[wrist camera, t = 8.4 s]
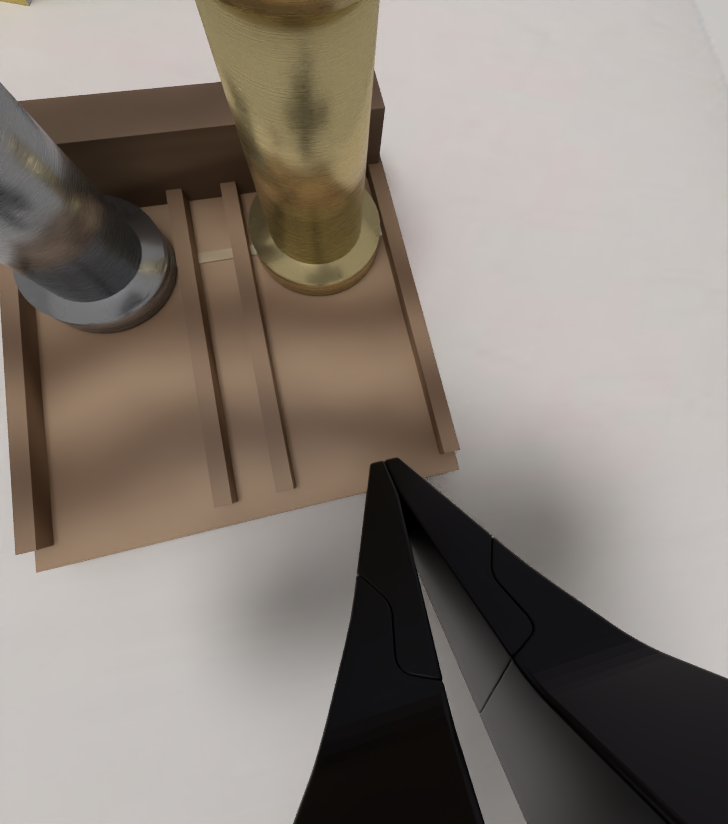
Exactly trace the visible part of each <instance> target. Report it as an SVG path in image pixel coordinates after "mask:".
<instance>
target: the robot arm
mask: <svg viewBox="0 0 728 824" xmlns="http://www.w3.org/2000/svg"><path fill="white" fill-rule="evenodd" d="M416 568H417V569H416ZM417 571H418V573H419V575H420V577H421V580H422V582H423V584H424V587H425V589H426V591H427V594H428V596H429V598H430V601H431V603H432V605H433V607H434V610H435V612H436V614H437V617H438V619H439V621H440V624H441V626H442V628H443V631H444V633H445V635H446V638H447V640H448V642H449V644H450V647H451V649H452V651H453V654H454V656H455V658H456V661H457V663H458V665H459V668H460V670H461V672H462V675H463V677H464V679H465V681H466V684H467V686H468V688H469V691H470V693H471V695H472V698H473V700H474V702H475V705H476V707H477V709H478V711H479V713H480V716H481V719H482V721H483V723H484V726H485V728H486V730H487V733H488V735H489V737H490V739H491V742H492V744H493V746H494V749H495V751H496V753H497V756H498V758H499V760H500V763H501V765H502V767H503V769H504V772H505V774H506V776H507V779H508V781H509V783H510V786H511V788H512V790H513V793H514V795H515V797H516V799H517V802H518V804H519V806H520V809H521V811H522V813H523V816H524V818H525V820H526V823H527V824H728V679H727V678H725V677H722V676H720V675H717V674H715V673H712V672H710V671H707V670H705V669H702V668H700V667H697V666H695V665H692V664H690V663H687V662H685V661H682V660H680V659H677V658H675V657H672V656H670V655H668V654H665V653H663V652H661V651H658V650H656V649H654V648H652V647H650V646H648V645H646V644H644V643H643V642H641V641H639V640H637V639H635V638H634V637H632V636H630V635H628V634H627V633H625V632H624V631H622V630H621V629H619V628H618V627H616V626H615V625H613V624H612V623H610V622H609V621H607V620H606V619H604V618H603V617H601V616H600V615H599V614H597V613H596V612H594V611H593V610H591V609H590V608H589V607H587V606H586V605H584V604H583V603H581V602H580V601H578V600H577V599H576V598H574V597H573V596H571V595H570V594H568V593H567V592H565V591H564V590H563V589H561V588H560V587H558V586H557V585H555V584H554V583H553V582H551V581H550V580H548V579H547V578H546V577H544V576H543V575H541V574H540V573H539V572H537V571H536V570H534V569H533V568H532V567H530V566H529V565H528V564H526V563H525V562H524V561H523V560H521V559H520V558H519V557H518V556H516V555H515V554H514V553H512V552H511V551H510V550H509V549H507V548H506V547H505V546H504V545H503V544H502V543H500V542H499V541H498V540H497V539H496V538H492V535H491V534H489V533H488V532H487V531H486V530H485V529H483V528H482V527H481V526H480V525H479V524H477V523H476V522H475V521H474V520H473V519H471V518H470V517H469V516H468V515H467V514H465V513H464V512H463V511H462V510H461V509H459V508H458V507H457V506H456V505H455V504H454V503H452V502H451V501H450V500H449V499H448V498H446V497H445V496H444V495H443V494H442V493H440V492H439V491H438V490H437V489H436V488H434V487H433V486H432V485H431V484H430V483H428V482H427V481H426V480H425V479H424V478H422V477H421V476H420V475H419V474H418V473H416V472H415V471H414V470H413V469H412V468H410V467H409V466H408V465H407V464H406V463H404V462H403V461H402V460H401V459H400V458H398V457H395V458H391V459H386V460H385V461H378V462H374V463H371V464H370V469H369V477H368V486H367V494H366V502H365V511H364V519H363V527H362V536H361V544H360V552H359V561H358V569H357V575H358V576H357V577H356V584H355V592H354V599H353V606H352V612H351V618H350V623H349V628H348V632H347V637H346V642H345V647H344V651H343V655H342V659H341V663H340V667H339V671H338V676H337V680H336V684H335V688H334V692H333V696H332V701H331V705H330V709H329V713H328V717H327V721H326V725H325V729H324V732H323V736H322V740H321V743H320V747H319V750H318V754H317V757H316V760H315V764H314V767H313V770H312V773H311V776H310V779H309V782H308V784H307V787H306V790H305V792H304V795H303V798H302V801H301V803H300V806H299V809H298V812H297V814H296V817H295V820H294V823H293V824H485V823H484V820H483V817H482V813H481V810H480V807H479V804H478V800H477V797H476V794H475V791H474V788H473V784H472V781H471V778H470V775H469V771H468V768H467V765H466V762H465V758H464V755H463V752H462V749H461V746H460V742H459V739H458V736H457V732H456V729H455V726H454V722H453V718H452V715H451V711H450V707H449V703H448V699H447V695H446V691H445V687H444V684H443V682H442V674H441V670H440V666H439V662H438V658H437V653H436V649H435V645H434V641H433V636H432V632H431V628H430V624H429V620H428V615H427V611H426V607H425V603H424V599H423V594H422V590H421V586H420V582H419V577H418V573H417Z"/></svg>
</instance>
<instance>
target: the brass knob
mask: <svg viewBox="0 0 728 824" xmlns="http://www.w3.org/2000/svg"><path fill="white" fill-rule="evenodd" d="M195 1H196V4H197V8H198V11H199V14H200V17H201V20H202V23H203V26H204V29H205V33H206V36H207V39H208V42H209V45H210V48H211V51H212V54H213V57H214V61H215V64H216V67H217V70H218V73H219V76H220V79H221V82H222V86H223V89H224V92H225V95H226V98H227V101H228V104H229V107H230V110H231V114H232V117H233V120H234V123H235V126H236V129H237V132H238V135H239V139H240V142H241V145H242V148H243V151H244V154H245V157H246V160H247V163H248V167H249V170H250V173H251V176H252V179H253V182H254V185H255V188H256V192H257V194H256V196H255V198H254V200H253V202H252V204H251V207H250V211H249V216H248V228H249V234H250V238H251V241H252V243H253V246H254V248H255V250H256V253H257V255H258V258H259V260H260V262H261V264H262V266H263V267H264V269H265V270H266V271H267V273H268V274H269V275H270V276H271V277H272V278H273V279H274V280H275V281H277V282H278V283H280V284H281V285H282V286H284V287H286V288H288V289H290V290H293V291H295V292H298V293H302V294H306V295H321V296H322V295H330V294H334V293H338V292H341V291H344V290H346V289H348V288H350V287H352V286H353V285H355V284H356V283H357V282H359V281H360V280H361V279H362V278H363V277H364V276H365V275H366V274H367V272H368V271H369V269H370V268H371V266H372V264H373V262H374V260H375V257H376V253H377V248H378V242H379V235H380V218H379V213H378V210H377V207H376V205H375V203H374V201H373V199H372V197H371V196H370V194H369V193H368V192H367V191H366V189H365V188H364V187H365V174H366V162H367V149H368V137H369V124H370V112H371V100H372V87H373V75H374V62H375V50H376V37H377V25H378V12H379V0H195Z"/></svg>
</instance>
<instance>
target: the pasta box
mask: <svg viewBox="0 0 728 824" xmlns="http://www.w3.org/2000/svg"><path fill="white" fill-rule="evenodd" d="M0 1H4V2H10V3H15V4H21V5H27V6H29V5H30V2H31V0H0Z"/></svg>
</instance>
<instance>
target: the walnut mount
mask: <svg viewBox="0 0 728 824" xmlns="http://www.w3.org/2000/svg"><path fill="white" fill-rule="evenodd" d="M17 102H18V103H19V104H20V105H21V106H22V107H23V108H24V109H25V110H26V111H27V113H28V114H29V115H30V116H31V117H32V118H33V119H34V120H35V121H36V122H37V124H38V125H39V126H40V127H41V128H42V129H43V130H44V131H45V132H46V133H47V135H48V136H49V137H50V138H51V139H52V140H53V141H54V142H55V143H56V145H57V146H58V147H59V148H60V149H61V150H62V151H63V152H64V153H65V154H66V156H67V157H68V158H69V159H70V160H71V161H72V162H73V163H74V164H75V165H76V167H77V168H78V169H79V170H80V171H81V172H82V173H83V174H84V175H85V176H86V178H87V179H88V180H89V181H90V182H91V183H92V184H93V185H94V186H95V188H96V189H97V190H98V191H99V192H100V193H101V194H102V195H108V196H113V197H117V198H121V199H123V200H126V201H128V202H130V203H132V204H134V205H136V206H137V207H139V208H140V209H141V210H143V211H144V212H145V213H146V214H147V215H148V216H149V217H150V218H151V219H152V221H153V222H154V223H155V224H156V226H157V227H158V228H159V230H160V231H161V232H162V233H163V235H164V236H165V237H166V238H167V240H168V241H169V243H170V245H171V246H172V249H173V251H174V254H175V258H176V264H177V273H176V280H175V284H174V287H173V289H172V292H171V294H170V296H169V297H168V299H167V300H166V302H165V303H164V305H163V306H162V307H161V308H160V309H159V310H158V311H157V312H156V313H155V314H154V315H152V316H151V317H150V318H149V319H147V320H145V321H144V322H142V323H140V324H138V325H136V326H134V327H132V328H129V329H126V330H122V331H118V332H111V333H93V332H86V331H82V330H78V329H76V328H73V327H71V326H69V325H66V324H64V323H62V322H60V321H58V320H56V319H54V318H52V317H50V316H48V315H46V314H44V313H43V312H41V311H39V310H38V309H36V308H35V307H34V306H32V305H31V304H30V303H29V302H28V301H27V300H26V299H25V298H24V296H23V295H22V293H21V292H20V290H19V288H18V286H17V284H16V282H15V278H14V275H13V270H12V269H10V268H8V267H6V266H5V265H3V264H1V263H0V307H1V323H2V340H3V356H4V373H5V389H6V406H7V422H8V438H9V455H10V471H11V488H12V504H13V521H14V537H15V553H16V555H18V554H23V553H27V552H31V551H35V561H36V573H37V572H41V571H45V570H50V569H54V568H58V567H62V566H66V565H70V564H74V563H78V562H82V561H86V560H90V559H95V558H99V557H103V556H107V555H111V554H115V553H119V552H123V551H127V550H131V549H135V548H140V547H144V546H148V545H152V544H156V543H160V542H164V541H168V540H172V539H176V538H180V537H185V536H189V535H193V534H197V533H201V532H205V531H209V530H213V529H217V528H221V527H225V526H230V525H234V524H238V523H242V522H246V521H250V520H254V519H258V518H262V517H266V516H270V515H275V514H279V513H283V512H287V511H291V510H295V509H299V508H303V507H307V506H311V505H315V504H320V503H324V502H328V501H332V500H336V499H340V498H344V497H348V496H352V495H356V494H360V493H365V492H367V486H368V477H369V469H370V464H371V463H374V462H378V461H385V460H386V459H391V458H395V457H398V458H400V459H401V460H402V461H403V462H404V463H406V464H407V465H408V466H409V467H410V468H412V469H413V470H414V471H415V472H416V473H418V474H419V475H420V476H421V477H422V478H426V477H430V476H434V475H438V474H442V473H446V472H450V471H455V470H459V467H458V463H457V460H456V456H455V452H454V451H457V450H460V448H459V444H458V441H457V437H456V433H455V430H454V426H453V422H452V419H451V415H450V411H449V408H448V404H447V400H446V397H445V393H444V389H443V386H442V382H441V378H440V375H439V371H438V367H437V364H436V360H435V356H434V353H433V349H432V345H431V342H430V338H429V334H428V331H427V327H426V323H425V320H424V316H423V312H422V309H421V305H420V301H419V297H418V294H417V290H416V286H415V283H414V279H413V275H412V272H411V268H410V264H409V261H408V257H407V253H406V250H405V246H404V242H403V239H402V235H401V231H400V228H399V224H398V220H397V217H396V213H395V209H394V206H393V202H392V198H391V195H390V191H389V187H388V184H387V180H386V176H385V173H384V169H383V165H382V161H381V158H380V145H381V137H382V129H383V120H384V112H385V106H384V103H383V99H382V96H381V92H380V88H379V85H378V81H377V78H376V74H375V71H374V75H373V87H372V100H371V112H370V124H369V137H368V149H367V162H366V174H365V187H364V188H365V189H366V191H367V192H368V193H369V194H370V196H371V197H372V199H373V201H374V203H375V205H376V207H377V210H378V213H379V218H380V235H379V242H378V248H377V253H376V257H375V260H374V262H373V264H372V266H371V268H370V269H369V271H368V272H367V274H366V275H365V276H364V277H363V278H362V279H361V280H360V281H359V282H357V283H356V284H355V285H353V286H352V287H350V288H348V289H346V290H344V291H341V292H338V293H334V294H330V295H322V296H321V295H306V294H302V293H298V292H295V291H293V290H290V289H288V288H286V287H284V286H282V285H281V284H280V283H278V282H277V281H275V280H274V279H273V278H272V277H271V276H270V275H269V274H268V273H267V271H266V270H265V269H264V267H263V266H262V264H261V262H260V260H259V258H258V255H257V253H256V250H255V248H254V246H253V243H252V241H251V238H250V234H249V228H248V216H249V211H250V207H251V204H252V202H253V200H254V198H255V196H256V194H257V192H256V188H255V185H254V182H253V179H252V176H251V173H250V170H249V167H248V163H247V160H246V157H245V154H244V151H243V148H242V145H241V142H240V139H239V135H238V132H237V129H236V126H235V123H234V120H233V117H232V114H231V110H230V107H229V104H228V101H227V98H226V95H225V92H224V89H223V86H222V82H216V83H205V84H195V85H184V86H174V87H163V88H153V89H142V90H132V91H121V92H111V93H100V94H90V95H79V96H69V97H58V98H47V99H37V100H26V101H17Z"/></svg>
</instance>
